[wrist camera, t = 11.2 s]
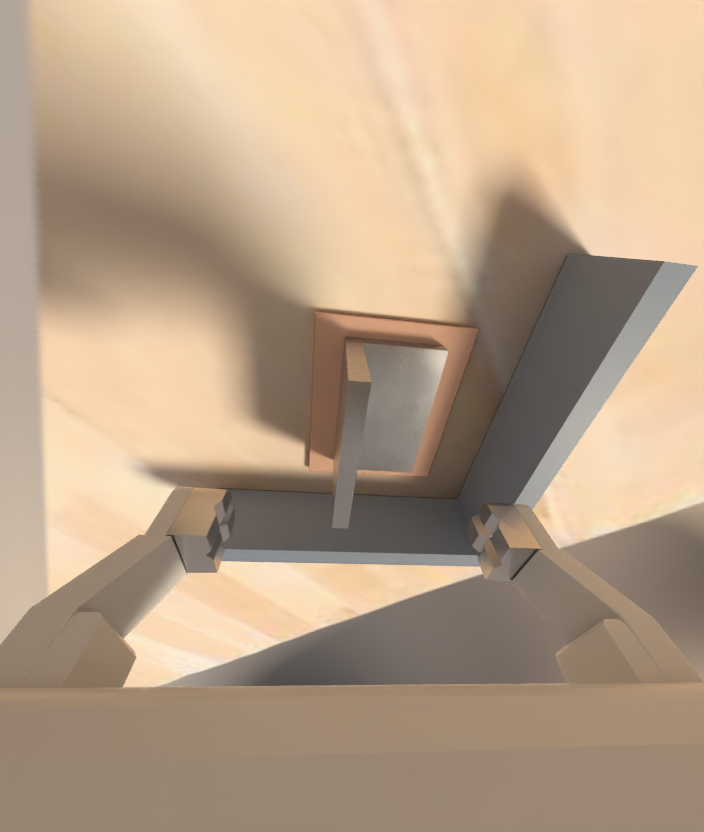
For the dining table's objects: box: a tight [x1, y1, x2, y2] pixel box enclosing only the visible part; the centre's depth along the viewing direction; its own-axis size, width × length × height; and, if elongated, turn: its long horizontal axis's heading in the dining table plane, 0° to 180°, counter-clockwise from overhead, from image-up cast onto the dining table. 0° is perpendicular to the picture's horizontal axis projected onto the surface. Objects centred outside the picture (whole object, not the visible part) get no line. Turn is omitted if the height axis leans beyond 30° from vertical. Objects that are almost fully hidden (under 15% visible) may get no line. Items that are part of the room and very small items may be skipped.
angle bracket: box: [332, 336, 449, 529], centre depth 14 cm, size 8×5×5 cm, turn 174°
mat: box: [309, 311, 478, 477], centre depth 16 cm, size 10×8×1 cm
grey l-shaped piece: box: [221, 254, 698, 566], centre depth 15 cm, size 17×18×4 cm
